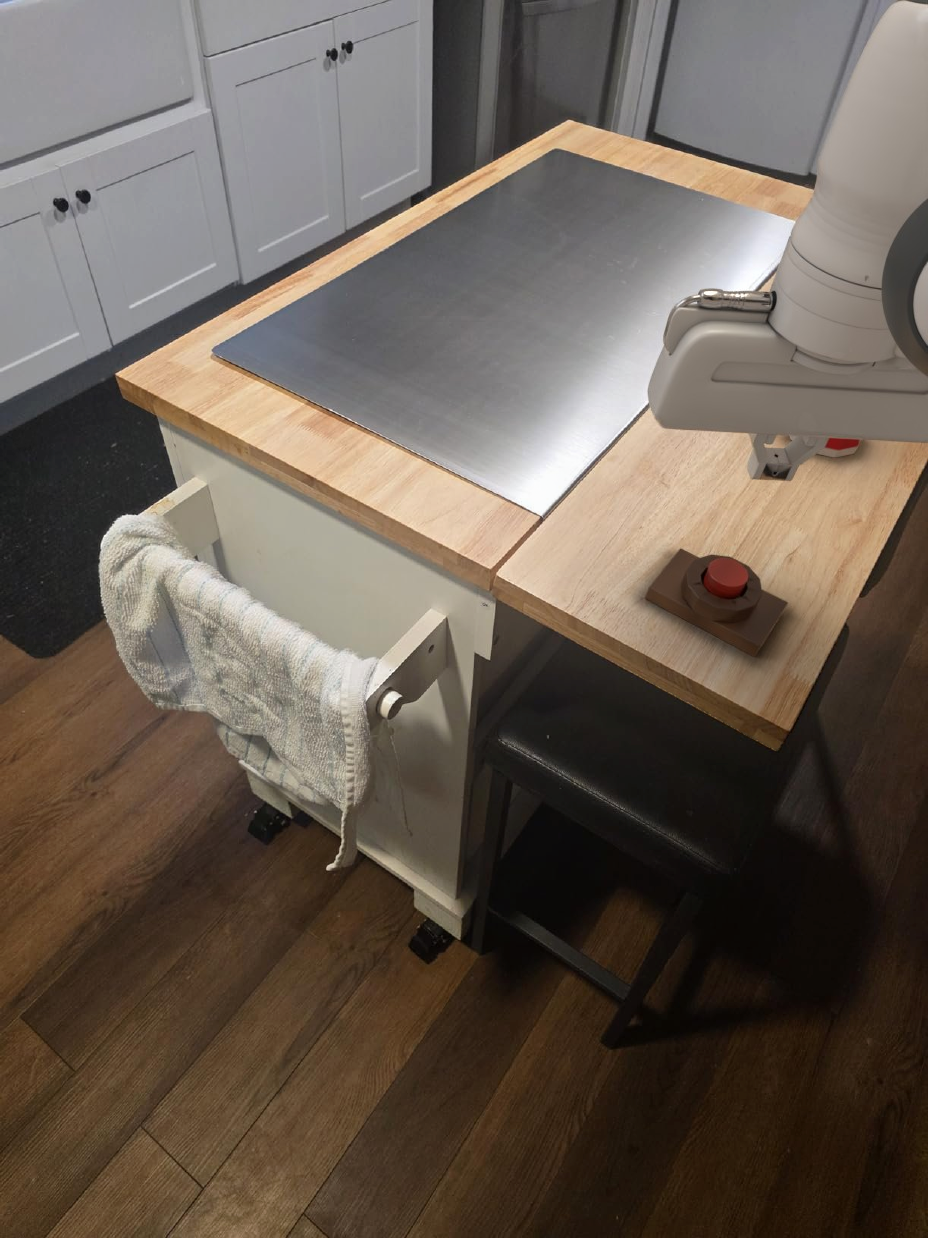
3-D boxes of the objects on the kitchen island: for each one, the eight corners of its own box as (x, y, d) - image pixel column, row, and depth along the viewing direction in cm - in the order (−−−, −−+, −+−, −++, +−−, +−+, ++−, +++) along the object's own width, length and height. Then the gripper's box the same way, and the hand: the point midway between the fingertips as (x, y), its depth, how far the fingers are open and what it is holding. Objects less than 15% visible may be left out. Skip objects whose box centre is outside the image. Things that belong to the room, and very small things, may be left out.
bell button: (748, 582, 72) (754, 569, 70) (732, 605, 70) (738, 592, 69) (713, 564, 73) (718, 551, 72) (696, 587, 71) (702, 573, 70)
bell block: (782, 612, 73) (795, 588, 71) (754, 657, 70) (766, 633, 68) (676, 558, 77) (685, 534, 74) (644, 598, 73) (652, 574, 71)
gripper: (686, 315, 50) (632, 497, 60) (1027, 336, 51) (916, 511, 62) (668, 260, 54) (620, 440, 64) (984, 281, 55) (887, 454, 66)
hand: (767, 475), depth 63 cm, fingers closed
